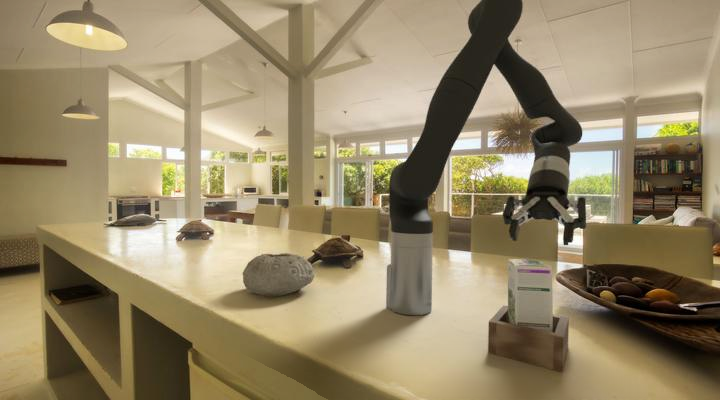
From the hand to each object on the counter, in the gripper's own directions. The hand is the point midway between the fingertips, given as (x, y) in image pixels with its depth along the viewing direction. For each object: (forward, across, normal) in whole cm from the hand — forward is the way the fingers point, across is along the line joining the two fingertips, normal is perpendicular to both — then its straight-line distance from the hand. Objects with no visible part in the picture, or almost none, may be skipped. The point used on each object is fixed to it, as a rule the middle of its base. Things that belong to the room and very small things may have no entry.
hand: (538, 240), depth 63 cm
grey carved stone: (+21, -58, +4) cm, 62 cm away
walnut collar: (+18, 0, +6) cm, 19 cm away
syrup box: (+18, 0, +6) cm, 19 cm away
